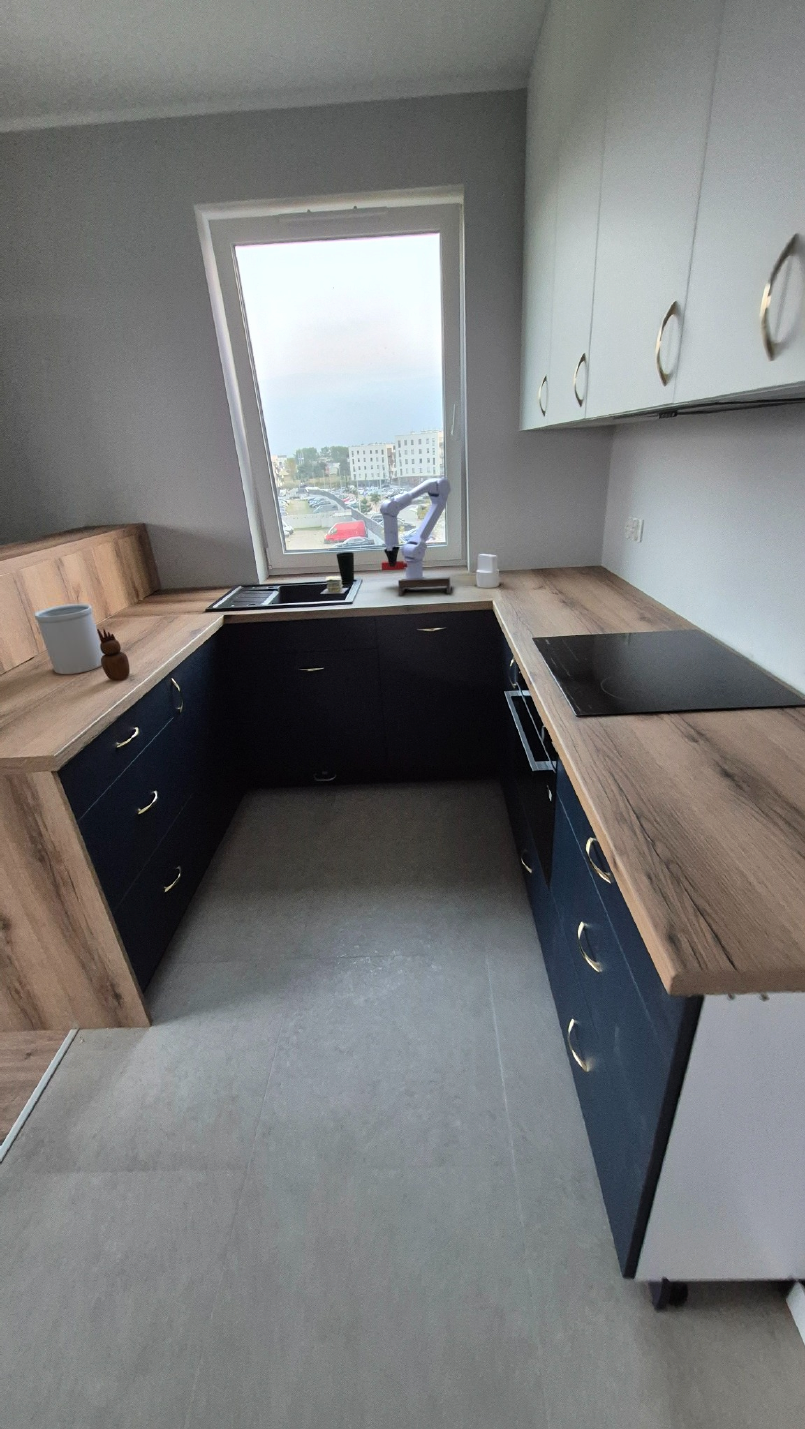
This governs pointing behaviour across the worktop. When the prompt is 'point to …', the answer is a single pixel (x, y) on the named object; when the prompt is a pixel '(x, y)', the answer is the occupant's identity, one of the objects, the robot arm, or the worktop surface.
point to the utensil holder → (70, 638)
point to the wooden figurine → (113, 658)
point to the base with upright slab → (487, 571)
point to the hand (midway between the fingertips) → (392, 565)
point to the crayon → (398, 565)
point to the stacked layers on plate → (334, 586)
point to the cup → (346, 566)
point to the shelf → (424, 583)
